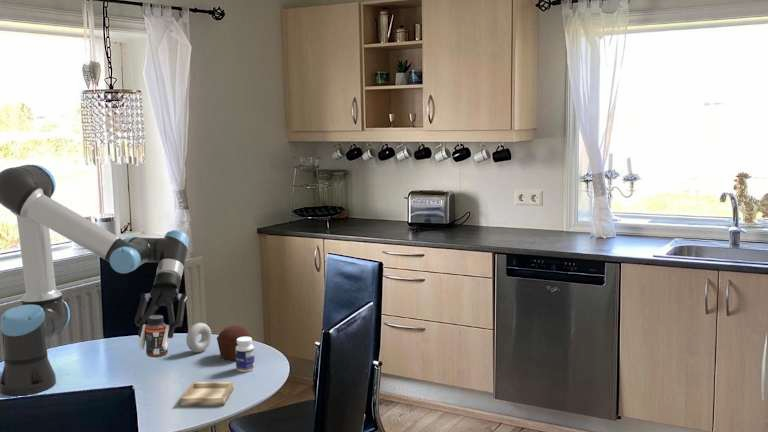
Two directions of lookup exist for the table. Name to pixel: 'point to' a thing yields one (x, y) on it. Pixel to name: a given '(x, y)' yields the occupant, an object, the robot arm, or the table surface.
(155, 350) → the supplement bottle
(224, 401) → the birch tray
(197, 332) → the donut
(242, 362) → the pill bottle
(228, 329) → the muffin
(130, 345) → the table surface
